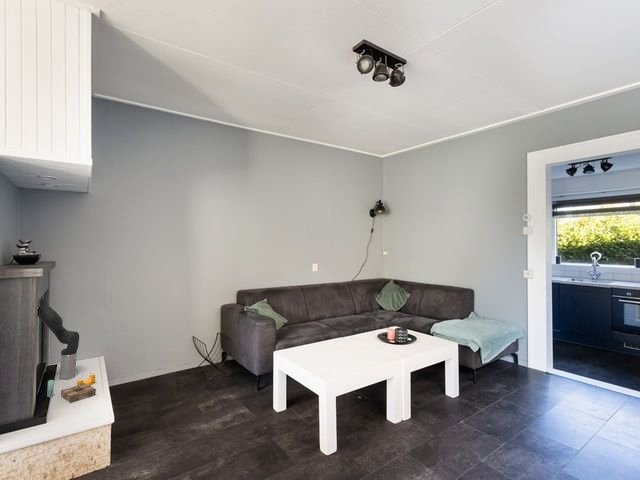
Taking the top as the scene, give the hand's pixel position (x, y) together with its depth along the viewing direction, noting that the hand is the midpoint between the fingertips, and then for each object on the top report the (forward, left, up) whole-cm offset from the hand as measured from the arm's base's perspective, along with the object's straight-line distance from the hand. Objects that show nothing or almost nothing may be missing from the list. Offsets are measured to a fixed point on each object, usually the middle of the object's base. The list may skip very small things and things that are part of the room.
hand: (29, 374), depth 211 cm
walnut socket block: (+19, +20, -15) cm, 31 cm away
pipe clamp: (+7, +29, -15) cm, 33 cm away
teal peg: (+7, +9, -15) cm, 19 cm away
